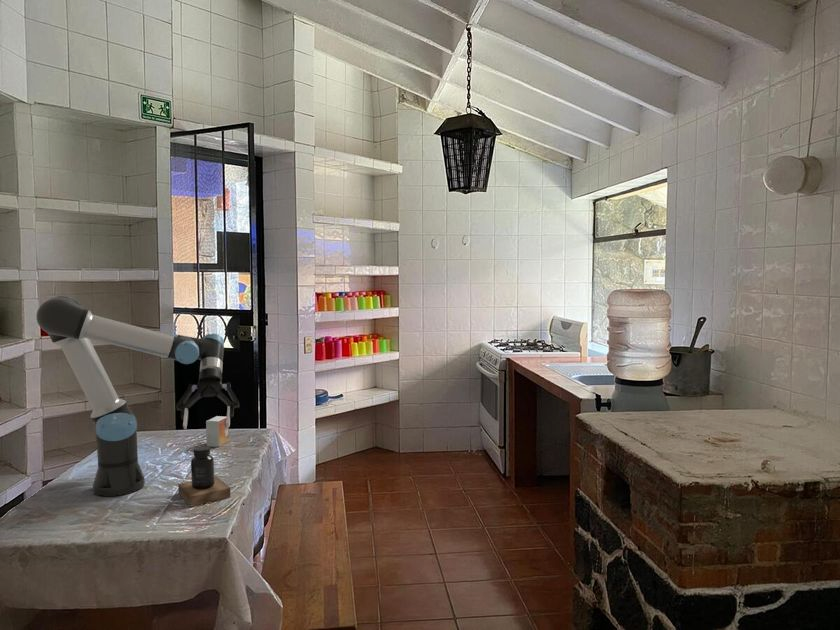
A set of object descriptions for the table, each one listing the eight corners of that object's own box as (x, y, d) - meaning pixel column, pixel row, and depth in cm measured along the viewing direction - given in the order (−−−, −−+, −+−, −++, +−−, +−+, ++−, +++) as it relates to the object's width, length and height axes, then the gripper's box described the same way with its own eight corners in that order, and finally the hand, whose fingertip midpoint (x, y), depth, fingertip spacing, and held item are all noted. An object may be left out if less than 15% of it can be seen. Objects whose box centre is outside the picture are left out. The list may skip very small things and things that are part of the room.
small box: (219, 447, 241) (218, 421, 240) (206, 446, 242) (205, 420, 241) (229, 441, 248) (228, 416, 247) (217, 440, 250) (216, 415, 249)
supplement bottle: (219, 483, 193) (218, 446, 192) (203, 491, 187) (202, 453, 186) (203, 480, 196) (201, 444, 195) (186, 487, 190) (185, 450, 188)
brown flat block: (191, 506, 183) (190, 496, 182) (178, 493, 193) (178, 484, 193) (230, 496, 190) (230, 487, 190) (216, 484, 200) (215, 476, 200)
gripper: (248, 377, 219) (246, 429, 205) (174, 380, 213) (168, 434, 200) (247, 365, 213) (245, 418, 200) (171, 368, 208) (164, 422, 195)
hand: (206, 426), depth 200 cm, fingers open, 13 cm apart
